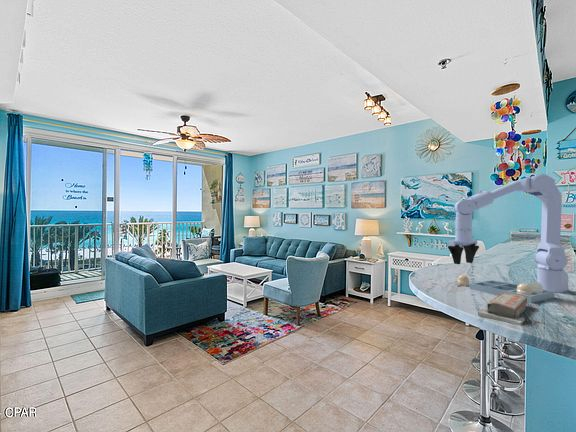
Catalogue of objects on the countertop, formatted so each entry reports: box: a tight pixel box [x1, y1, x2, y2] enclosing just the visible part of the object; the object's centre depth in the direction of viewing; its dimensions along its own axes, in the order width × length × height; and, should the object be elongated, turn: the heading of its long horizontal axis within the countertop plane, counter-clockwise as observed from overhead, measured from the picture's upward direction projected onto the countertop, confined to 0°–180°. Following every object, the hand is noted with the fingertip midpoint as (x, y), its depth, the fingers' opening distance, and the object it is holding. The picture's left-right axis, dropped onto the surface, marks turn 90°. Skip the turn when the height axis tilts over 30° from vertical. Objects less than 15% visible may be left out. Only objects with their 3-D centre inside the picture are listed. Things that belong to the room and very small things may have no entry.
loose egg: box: [457, 274, 470, 288], centre depth 114 cm, size 4×4×5 cm
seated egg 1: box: [517, 282, 532, 296], centre depth 95 cm, size 4×4×5 cm
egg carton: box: [468, 279, 555, 304], centre depth 102 cm, size 14×20×3 cm
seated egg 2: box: [527, 281, 543, 293], centre depth 97 cm, size 4×4×5 cm
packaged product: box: [477, 293, 528, 326], centre depth 84 cm, size 18×5×10 cm
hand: (463, 263), depth 114 cm, fingers open, 7 cm apart
